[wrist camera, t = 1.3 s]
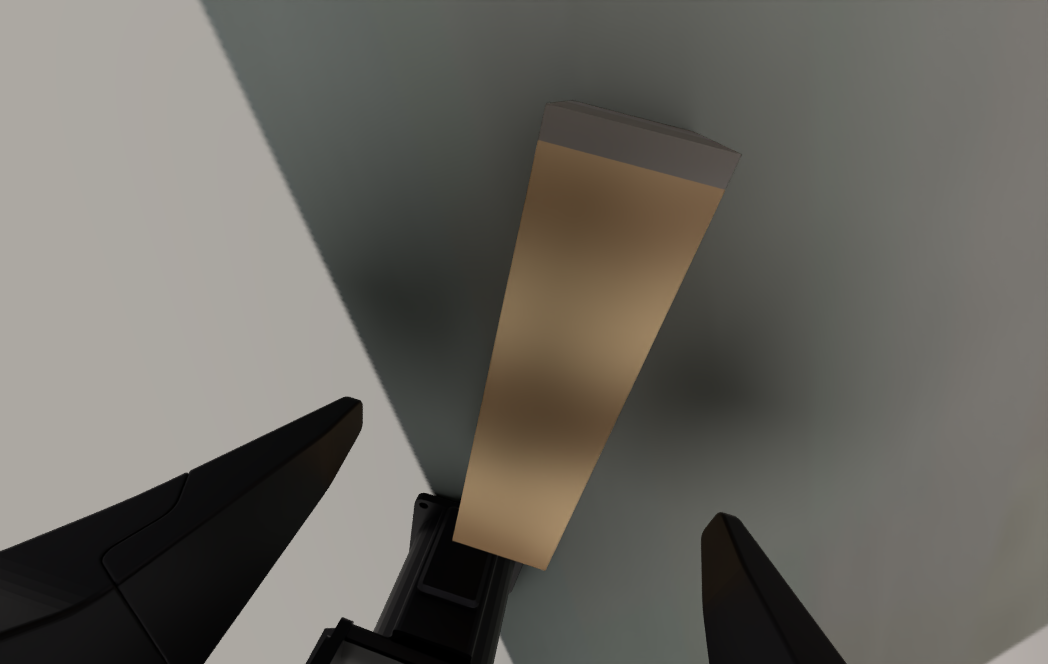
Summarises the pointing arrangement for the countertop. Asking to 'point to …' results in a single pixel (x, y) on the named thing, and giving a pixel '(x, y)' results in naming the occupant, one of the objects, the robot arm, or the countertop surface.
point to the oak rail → (581, 313)
